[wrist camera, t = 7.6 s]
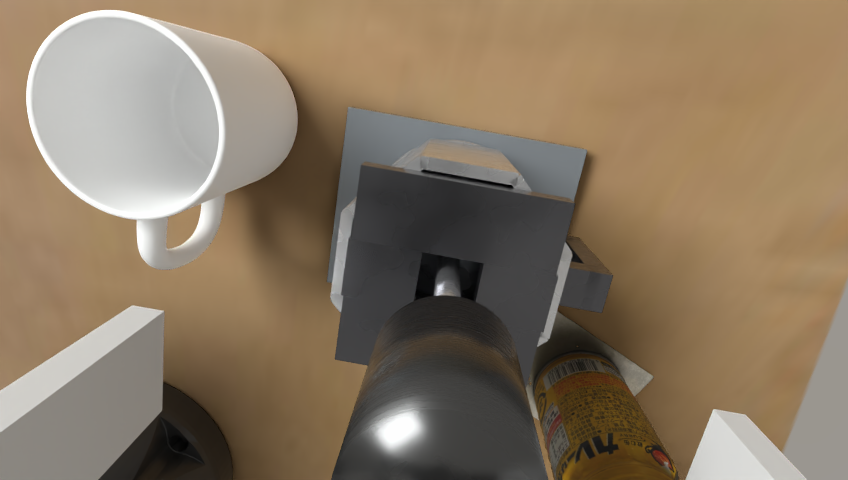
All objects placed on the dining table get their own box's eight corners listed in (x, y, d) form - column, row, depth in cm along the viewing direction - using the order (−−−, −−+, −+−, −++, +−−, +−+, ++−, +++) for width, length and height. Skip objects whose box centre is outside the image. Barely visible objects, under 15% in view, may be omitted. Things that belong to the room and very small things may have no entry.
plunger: (376, 279, 28) (231, 613, 10) (395, 155, 26) (256, 287, 8) (499, 302, 28) (584, 681, 10) (528, 179, 26) (705, 369, 8)
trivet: (330, 277, 32) (326, 281, 31) (351, 106, 29) (348, 107, 28) (539, 315, 32) (541, 321, 31) (583, 148, 29) (587, 149, 28)
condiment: (582, 447, 34) (645, 622, 23) (485, 385, 34) (502, 534, 22) (652, 374, 33) (761, 525, 21) (552, 306, 32) (609, 425, 20)
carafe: (361, 278, 31) (314, 370, 20) (383, 126, 28) (341, 141, 18) (545, 311, 31) (593, 422, 20) (585, 162, 28) (665, 200, 18)
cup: (307, 53, 28) (230, 29, 18) (290, 247, 32) (216, 313, 22) (168, 29, 28) (17, -8, 18) (165, 225, 32) (37, 281, 22)
